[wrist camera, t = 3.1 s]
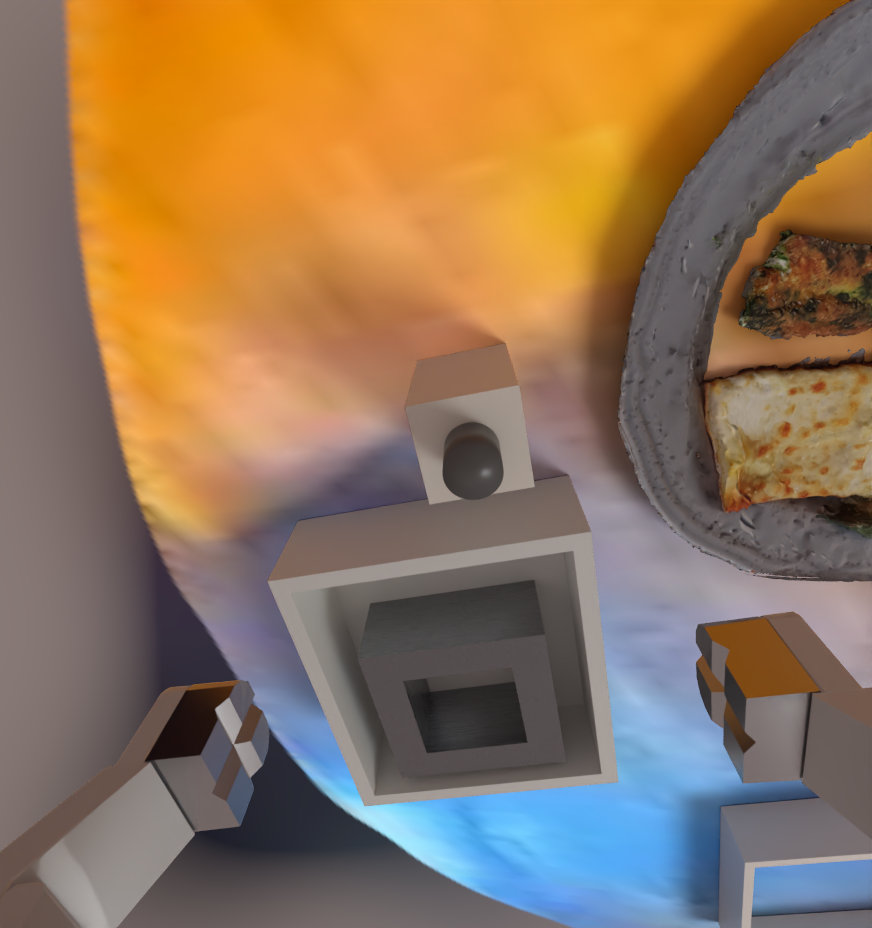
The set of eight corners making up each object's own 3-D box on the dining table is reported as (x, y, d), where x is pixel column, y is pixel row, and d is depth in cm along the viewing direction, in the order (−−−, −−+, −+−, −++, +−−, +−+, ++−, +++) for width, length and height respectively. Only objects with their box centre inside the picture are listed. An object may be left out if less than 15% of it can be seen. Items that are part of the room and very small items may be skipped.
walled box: (298, 520, 28) (267, 581, 24) (568, 475, 26) (591, 531, 22) (377, 728, 35) (364, 806, 30) (596, 703, 33) (618, 782, 29)
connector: (417, 361, 24) (399, 428, 17) (505, 343, 24) (525, 405, 17) (436, 441, 26) (426, 533, 19) (518, 426, 25) (542, 515, 18)
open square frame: (720, 806, 37) (745, 862, 34) (965, 785, 35) (1015, 842, 32) (718, 922, 43) (738, 979, 40) (925, 910, 41) (963, 968, 38)
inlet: (370, 603, 30) (357, 659, 26) (534, 579, 28) (545, 634, 25) (408, 715, 33) (402, 778, 30) (554, 698, 32) (566, 761, 29)
